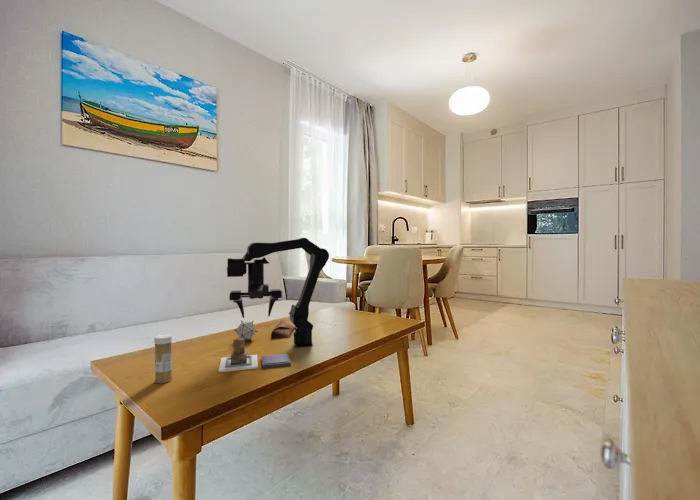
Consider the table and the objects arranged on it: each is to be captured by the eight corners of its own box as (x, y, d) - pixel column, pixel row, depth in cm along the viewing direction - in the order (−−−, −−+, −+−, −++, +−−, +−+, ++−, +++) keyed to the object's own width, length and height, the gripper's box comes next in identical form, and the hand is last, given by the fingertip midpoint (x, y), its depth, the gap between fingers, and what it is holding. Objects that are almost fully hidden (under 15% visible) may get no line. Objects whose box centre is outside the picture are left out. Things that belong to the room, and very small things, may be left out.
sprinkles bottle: (152, 381, 101) (151, 336, 101) (168, 376, 105) (167, 332, 104) (158, 385, 98) (157, 339, 98) (175, 380, 102) (174, 335, 101)
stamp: (246, 358, 118) (246, 337, 118) (246, 363, 113) (246, 341, 113) (231, 360, 116) (231, 338, 116) (230, 365, 112) (230, 342, 111)
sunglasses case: (291, 338, 144) (282, 324, 144) (276, 346, 144) (268, 333, 144) (296, 327, 162) (289, 315, 162) (283, 334, 162) (276, 322, 162)
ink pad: (287, 356, 122) (287, 353, 122) (290, 365, 113) (290, 361, 113) (261, 359, 119) (261, 355, 119) (262, 368, 111) (262, 364, 111)
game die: (250, 348, 143) (265, 327, 145) (242, 346, 135) (258, 325, 137) (234, 336, 145) (249, 316, 147) (226, 334, 137) (241, 313, 139)
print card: (257, 356, 122) (257, 353, 122) (257, 368, 111) (257, 365, 111) (221, 359, 119) (221, 356, 119) (218, 372, 107) (218, 369, 107)
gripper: (228, 279, 118) (228, 324, 118) (283, 277, 123) (283, 320, 123) (230, 275, 128) (230, 317, 129) (280, 274, 134) (280, 313, 134)
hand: (256, 317), depth 129 cm, fingers open, 9 cm apart
